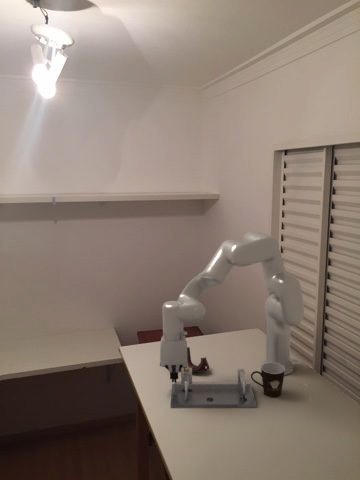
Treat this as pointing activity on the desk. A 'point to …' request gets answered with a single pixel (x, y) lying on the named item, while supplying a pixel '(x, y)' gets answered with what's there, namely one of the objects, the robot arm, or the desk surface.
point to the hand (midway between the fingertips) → (174, 380)
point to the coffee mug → (271, 378)
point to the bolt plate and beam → (214, 394)
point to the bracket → (194, 368)
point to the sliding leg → (186, 379)
